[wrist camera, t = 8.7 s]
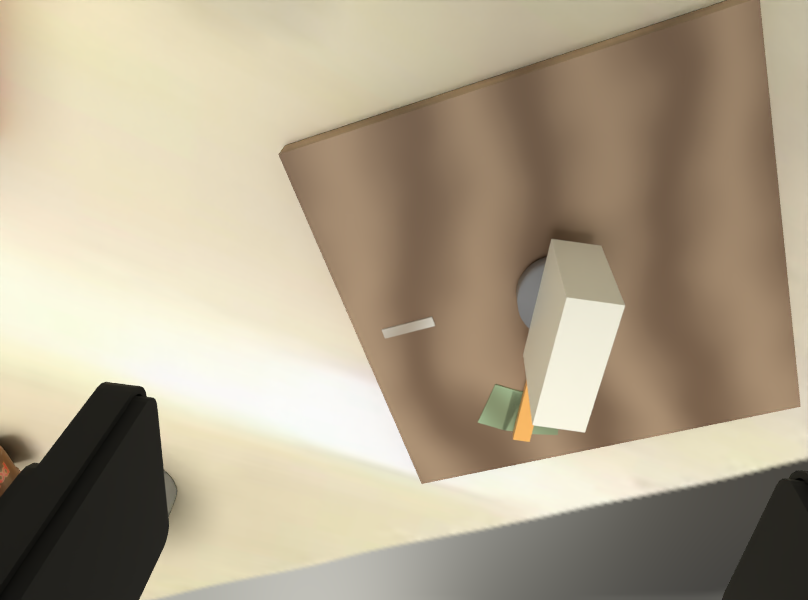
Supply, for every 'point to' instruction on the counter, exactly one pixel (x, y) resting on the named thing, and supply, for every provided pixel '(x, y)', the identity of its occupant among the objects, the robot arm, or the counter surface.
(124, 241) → the counter surface
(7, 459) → the tin
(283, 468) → the counter surface
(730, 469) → the counter surface
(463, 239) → the dial board
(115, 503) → the robot arm
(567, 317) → the knob
